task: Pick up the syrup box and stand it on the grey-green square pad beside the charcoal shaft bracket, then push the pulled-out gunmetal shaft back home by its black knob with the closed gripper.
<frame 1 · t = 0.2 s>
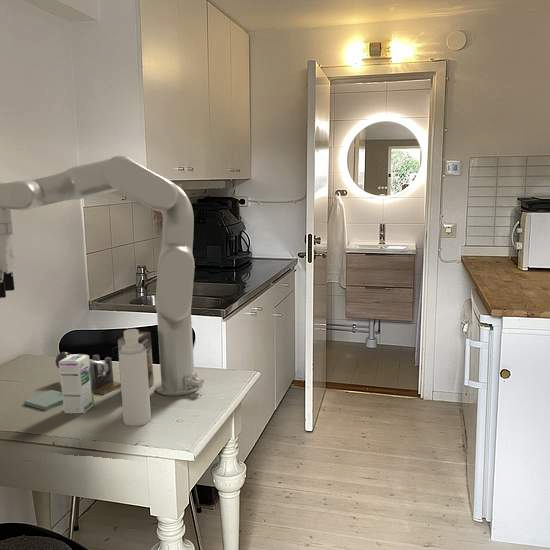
hand: (3, 294, 151), 31 cm above the table, tool pointing down, fingers open, 9 cm apart
shaft: (82, 364, 169), point 6 cm above the table, slide at 5.0 cm
bracket: (103, 388, 166), on the table
syrup box: (79, 410, 151), on the table
spray bottle: (137, 421, 143), on the table
coffee box: (138, 390, 164), on the table
grey-green square pad: (49, 401, 157), on the table
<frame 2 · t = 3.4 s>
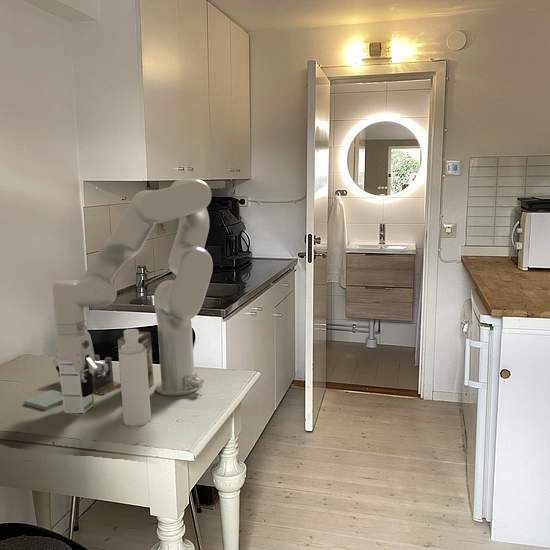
hand: (77, 392, 150), 5 cm above the table, tool pointing down, fingers closed on syrup box, 7 cm apart
syrup box: (79, 410, 151), on the table, touching gripper
everything else where it was.
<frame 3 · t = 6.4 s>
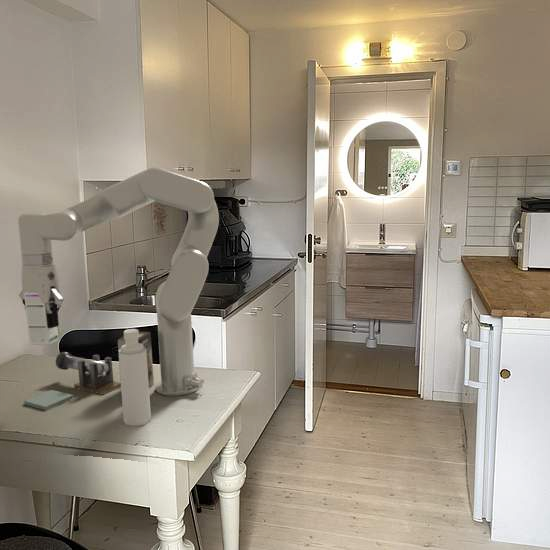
hand: (43, 324, 152), 22 cm above the table, tool pointing down, fingers closed on syrup box, 7 cm apart
syrup box: (44, 343, 153), point 17 cm above the table, touching gripper
everything else where it was.
when the fingers open (7 cm above the table, at t = 9.8 s): syrup box drops 1 cm, resting on grey-green square pad.
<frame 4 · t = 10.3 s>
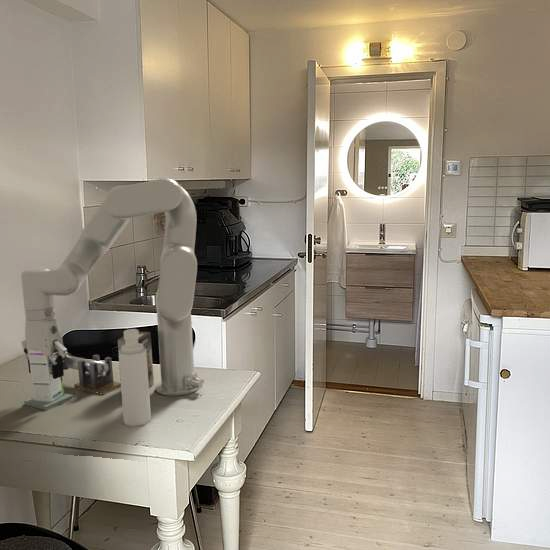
hand: (46, 374, 156), 8 cm above the table, tool pointing down, fingers open, 9 cm apart
syrup box: (49, 398, 157), point 1 cm above the table, touching grey-green square pad
everything else where it was.
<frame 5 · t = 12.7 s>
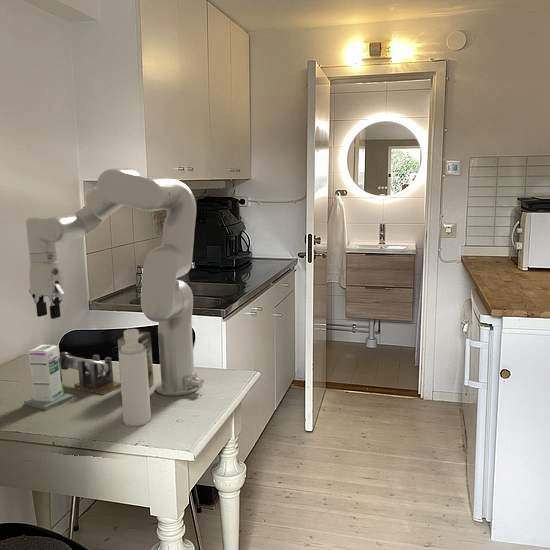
hand: (48, 316, 173), 19 cm above the table, tool pointing down, fingers open, 5 cm apart
nothing on the table moved.
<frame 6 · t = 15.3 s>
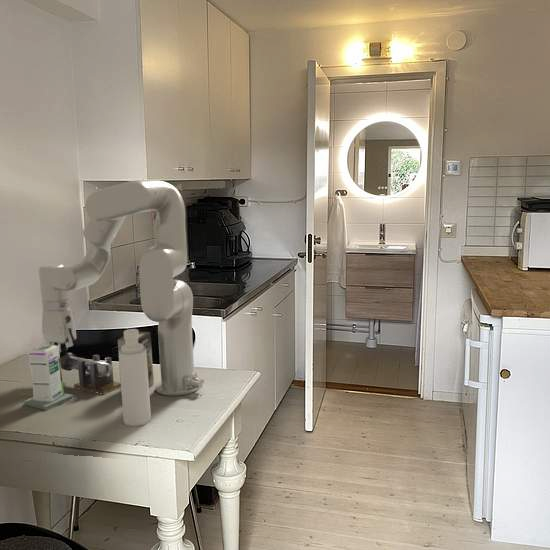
hand: (61, 363, 174), 5 cm above the table, tool pointing down, fingers closed
shaft: (86, 365, 168), point 6 cm above the table, slide at 3.3 cm, touching gripper
everything else where it was.
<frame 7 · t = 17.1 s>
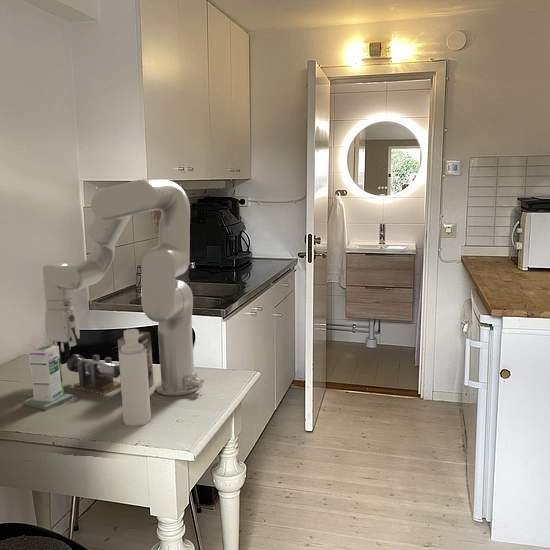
hand: (64, 362, 173), 5 cm above the table, tool pointing down, fingers closed
shaft: (94, 367, 166), point 6 cm above the table, slide at 0.0 cm
everything else where it was.
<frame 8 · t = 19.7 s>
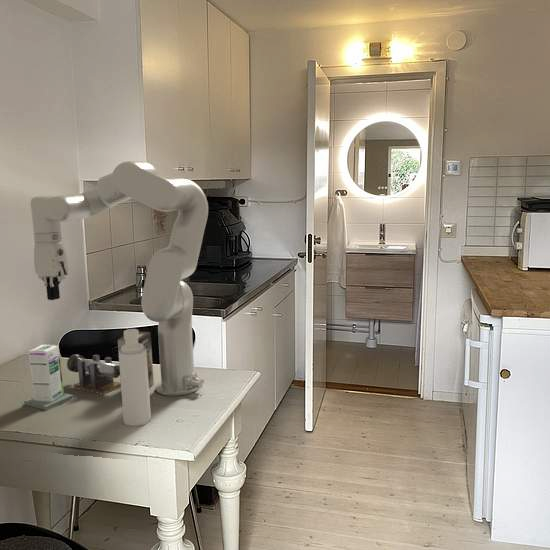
hand: (53, 299, 170), 25 cm above the table, tool pointing down, fingers closed
nothing on the table moved.
at the end: shaft slide at 0.0 cm; syrup box 0.1 cm off-centre on the grey-green square pad, point 0.8 cm above the grey-green square pad's base; syrup box tilted 0° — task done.
